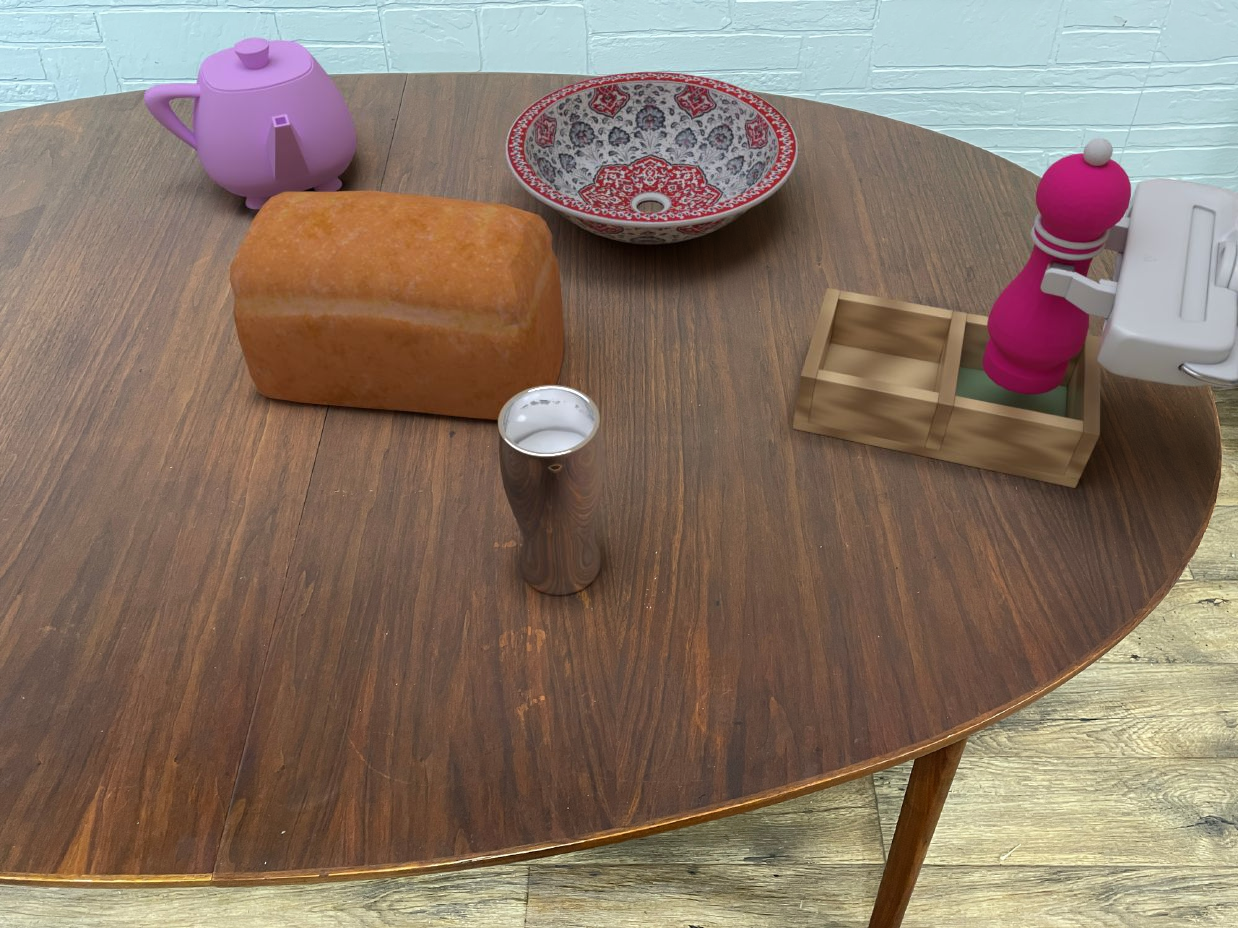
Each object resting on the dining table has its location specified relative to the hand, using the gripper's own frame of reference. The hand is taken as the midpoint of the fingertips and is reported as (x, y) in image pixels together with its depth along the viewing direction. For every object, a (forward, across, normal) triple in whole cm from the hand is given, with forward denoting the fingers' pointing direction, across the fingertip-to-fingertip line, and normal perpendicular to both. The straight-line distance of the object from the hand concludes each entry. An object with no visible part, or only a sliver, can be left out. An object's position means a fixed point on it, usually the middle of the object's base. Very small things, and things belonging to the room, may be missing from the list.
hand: (1050, 251), depth 75 cm
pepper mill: (-1, 0, -11) cm, 11 cm away
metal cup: (+27, -28, -17) cm, 42 cm away
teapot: (+78, +6, -17) cm, 80 cm away
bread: (+48, -13, -17) cm, 53 cm away
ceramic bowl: (+39, +18, -17) cm, 46 cm away
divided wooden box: (+4, -1, -17) cm, 17 cm away
